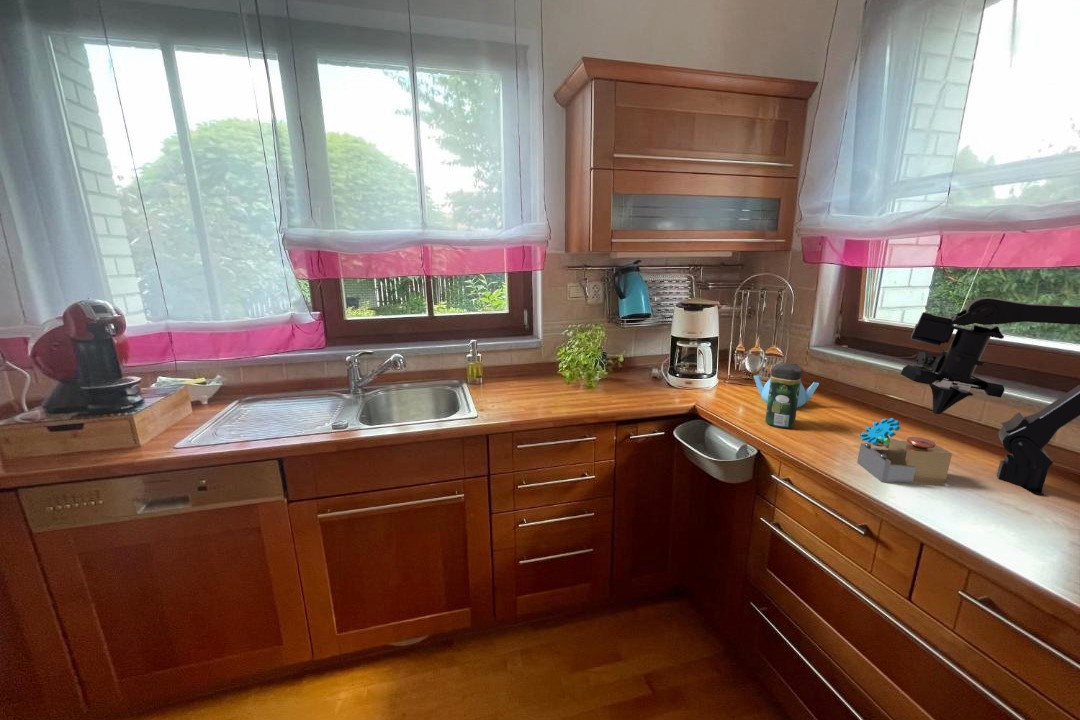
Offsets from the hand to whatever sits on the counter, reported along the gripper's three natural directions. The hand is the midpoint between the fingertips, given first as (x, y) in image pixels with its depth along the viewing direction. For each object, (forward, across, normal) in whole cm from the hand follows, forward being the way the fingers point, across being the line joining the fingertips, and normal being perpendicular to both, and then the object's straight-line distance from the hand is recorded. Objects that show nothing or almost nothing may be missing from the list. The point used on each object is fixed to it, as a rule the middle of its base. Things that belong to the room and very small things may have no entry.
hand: (936, 413), depth 108 cm
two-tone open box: (+14, +8, +10) cm, 19 cm away
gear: (+15, +2, -10) cm, 18 cm away
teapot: (+19, +15, -44) cm, 50 cm away
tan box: (+13, +6, +10) cm, 17 cm away
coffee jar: (+19, +23, -22) cm, 37 cm away
